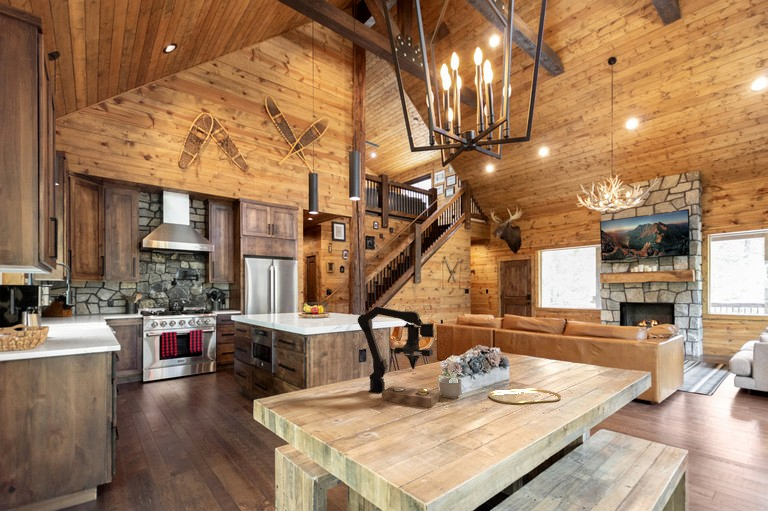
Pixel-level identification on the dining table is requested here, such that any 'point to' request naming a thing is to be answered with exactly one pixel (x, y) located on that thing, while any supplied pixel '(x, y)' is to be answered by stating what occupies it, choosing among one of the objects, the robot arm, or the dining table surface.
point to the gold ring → (523, 391)
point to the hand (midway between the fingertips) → (413, 368)
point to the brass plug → (422, 391)
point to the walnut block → (411, 397)
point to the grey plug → (399, 389)
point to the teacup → (450, 387)
